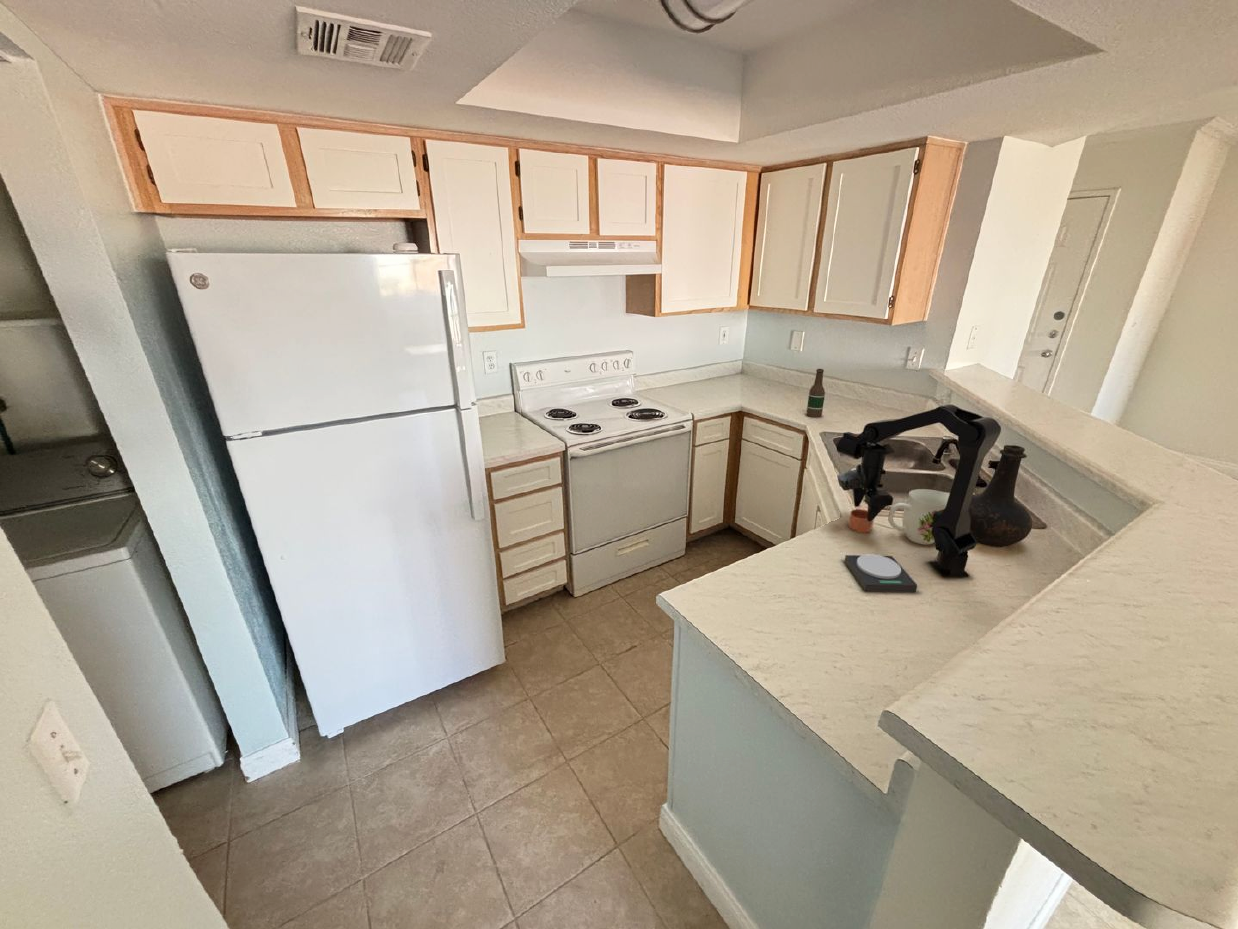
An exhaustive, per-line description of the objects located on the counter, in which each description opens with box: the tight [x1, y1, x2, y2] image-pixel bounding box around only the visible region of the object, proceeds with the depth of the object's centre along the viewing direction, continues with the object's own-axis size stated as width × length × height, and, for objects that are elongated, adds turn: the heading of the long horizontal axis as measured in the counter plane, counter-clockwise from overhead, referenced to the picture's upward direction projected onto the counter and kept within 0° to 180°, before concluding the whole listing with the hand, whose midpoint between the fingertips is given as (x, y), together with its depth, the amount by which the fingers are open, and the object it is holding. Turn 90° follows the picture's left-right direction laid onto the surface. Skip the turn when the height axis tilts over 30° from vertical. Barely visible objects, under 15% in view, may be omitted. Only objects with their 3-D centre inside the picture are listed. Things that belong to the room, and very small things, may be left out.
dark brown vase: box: [968, 444, 1033, 548], centre depth 137 cm, size 18×18×28 cm
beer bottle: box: [806, 368, 826, 419], centre depth 254 cm, size 8×8×24 cm
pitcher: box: [887, 488, 950, 545], centre depth 140 cm, size 11×18×14 cm, turn 86°
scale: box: [844, 553, 918, 593], centre depth 126 cm, size 13×12×3 cm
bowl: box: [847, 508, 875, 534], centre depth 148 cm, size 6×6×4 cm
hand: (862, 513), depth 147 cm, fingers open, 9 cm apart
